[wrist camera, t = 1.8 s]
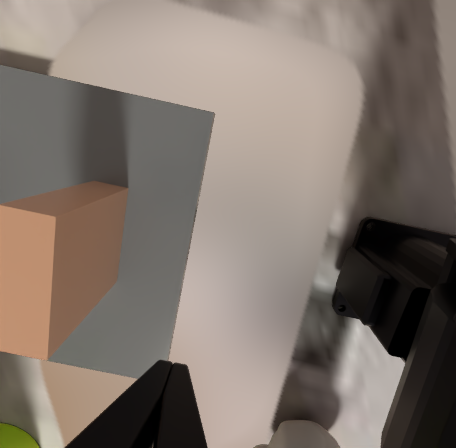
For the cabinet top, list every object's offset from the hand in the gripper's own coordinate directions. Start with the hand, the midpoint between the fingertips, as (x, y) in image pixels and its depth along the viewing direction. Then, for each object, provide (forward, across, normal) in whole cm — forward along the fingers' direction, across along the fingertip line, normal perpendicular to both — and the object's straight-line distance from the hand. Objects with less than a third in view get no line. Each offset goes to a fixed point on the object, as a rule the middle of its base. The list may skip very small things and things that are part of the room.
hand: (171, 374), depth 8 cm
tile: (+10, +6, 0) cm, 11 cm away
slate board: (+10, +9, +1) cm, 14 cm away
